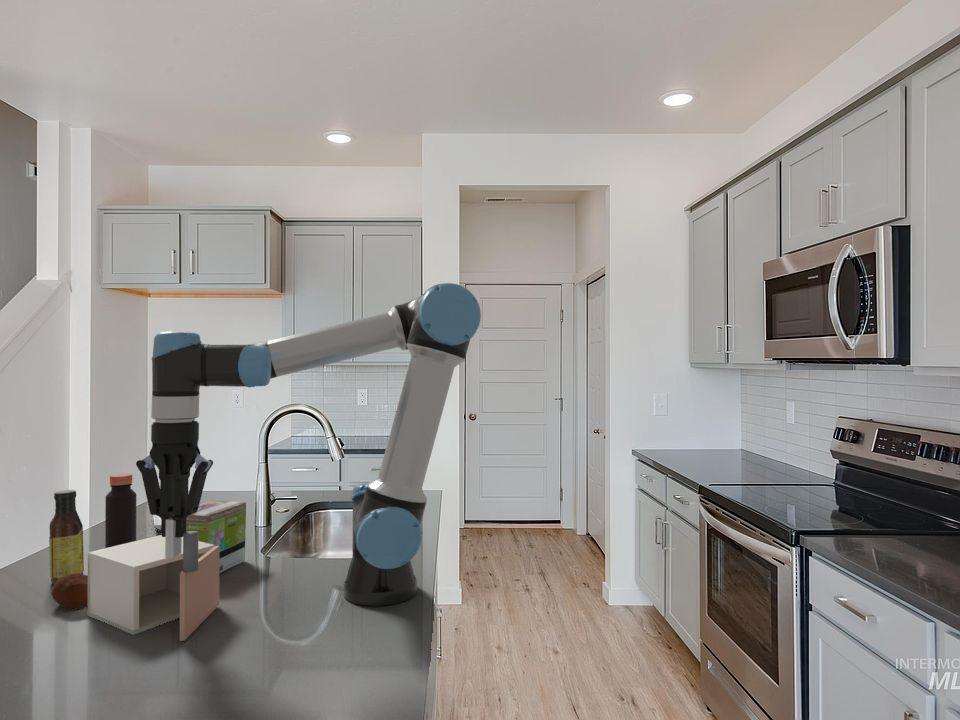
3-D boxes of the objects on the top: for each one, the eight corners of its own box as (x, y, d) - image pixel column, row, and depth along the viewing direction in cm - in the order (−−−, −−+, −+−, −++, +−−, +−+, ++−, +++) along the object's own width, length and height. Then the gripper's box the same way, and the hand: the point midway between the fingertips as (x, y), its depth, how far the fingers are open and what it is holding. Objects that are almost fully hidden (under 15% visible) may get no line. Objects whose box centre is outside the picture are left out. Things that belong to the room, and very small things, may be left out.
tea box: (208, 582, 138) (208, 514, 138) (168, 578, 140) (168, 512, 140) (246, 561, 153) (246, 500, 153) (210, 558, 155) (210, 498, 155)
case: (214, 605, 124) (214, 545, 124) (133, 634, 111) (133, 567, 111) (167, 590, 133) (168, 533, 133) (87, 615, 119) (87, 552, 119)
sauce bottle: (90, 579, 139) (90, 490, 140) (61, 588, 134) (61, 495, 134) (71, 575, 142) (71, 487, 142) (42, 583, 137) (42, 492, 137)
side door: (215, 604, 124) (215, 512, 124) (227, 604, 124) (227, 512, 124) (179, 640, 107) (180, 535, 108) (193, 640, 108) (194, 535, 108)
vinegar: (137, 549, 162) (137, 472, 162) (135, 556, 156) (135, 476, 156) (106, 552, 159) (107, 473, 159) (103, 560, 153) (104, 478, 153)
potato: (54, 617, 119) (54, 583, 119) (49, 603, 126) (49, 570, 126) (97, 608, 123) (97, 575, 123) (89, 595, 130) (90, 563, 130)
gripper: (221, 419, 113) (219, 550, 113) (152, 418, 114) (150, 548, 114) (200, 422, 106) (198, 563, 105) (126, 421, 106) (124, 560, 106)
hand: (173, 555), depth 109 cm, fingers closed
